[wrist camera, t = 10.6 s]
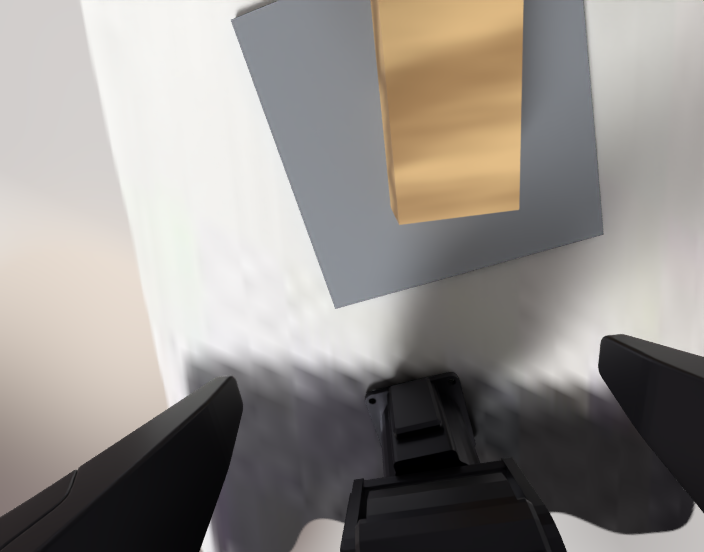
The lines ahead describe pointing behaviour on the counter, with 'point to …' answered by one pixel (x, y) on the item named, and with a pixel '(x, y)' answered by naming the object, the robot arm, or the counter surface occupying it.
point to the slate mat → (370, 159)
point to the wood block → (450, 105)
